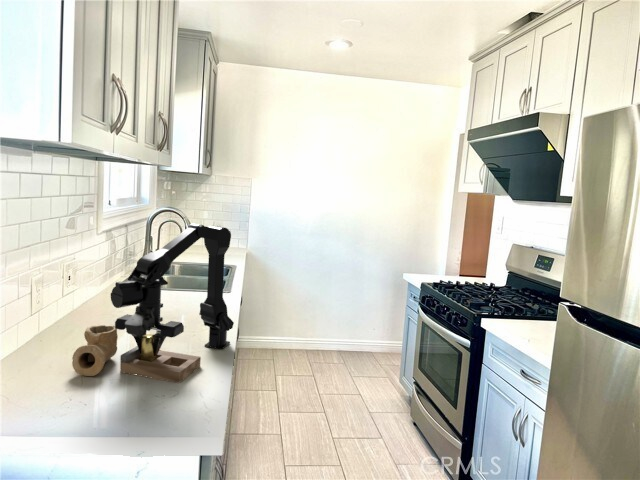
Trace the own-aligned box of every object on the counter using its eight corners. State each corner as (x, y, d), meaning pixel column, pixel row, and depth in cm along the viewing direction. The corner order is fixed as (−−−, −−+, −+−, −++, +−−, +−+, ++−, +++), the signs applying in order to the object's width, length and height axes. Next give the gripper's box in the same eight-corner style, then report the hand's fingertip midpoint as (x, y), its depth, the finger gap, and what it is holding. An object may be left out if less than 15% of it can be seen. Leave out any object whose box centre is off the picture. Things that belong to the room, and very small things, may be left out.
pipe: (68, 377, 125) (68, 341, 124) (90, 355, 141) (90, 322, 140) (104, 378, 126) (104, 342, 125) (121, 355, 142) (122, 323, 141)
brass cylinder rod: (146, 359, 137) (146, 333, 136) (158, 361, 136) (159, 335, 135) (138, 364, 133) (138, 337, 132) (150, 366, 133) (151, 339, 132)
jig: (145, 357, 142) (145, 341, 141) (200, 366, 138) (200, 350, 137) (120, 372, 130) (120, 355, 130) (179, 383, 126) (179, 365, 126)
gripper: (101, 304, 127) (101, 359, 129) (164, 313, 123) (162, 370, 125) (127, 295, 138) (126, 346, 140) (185, 303, 134) (183, 355, 136)
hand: (148, 354), depth 135 cm, fingers closed on brass cylinder rod, 4 cm apart
